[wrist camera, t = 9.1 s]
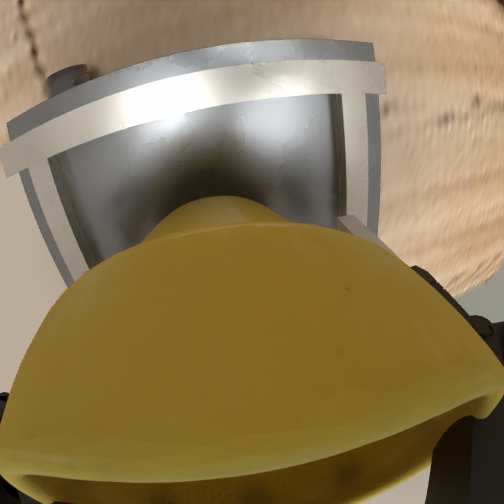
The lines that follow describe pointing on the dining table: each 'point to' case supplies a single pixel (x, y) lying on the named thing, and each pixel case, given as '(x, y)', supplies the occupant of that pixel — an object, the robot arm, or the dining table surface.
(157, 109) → the grey square tray
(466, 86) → the dining table surface
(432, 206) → the dining table surface
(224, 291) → the plant pot
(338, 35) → the dining table surface
